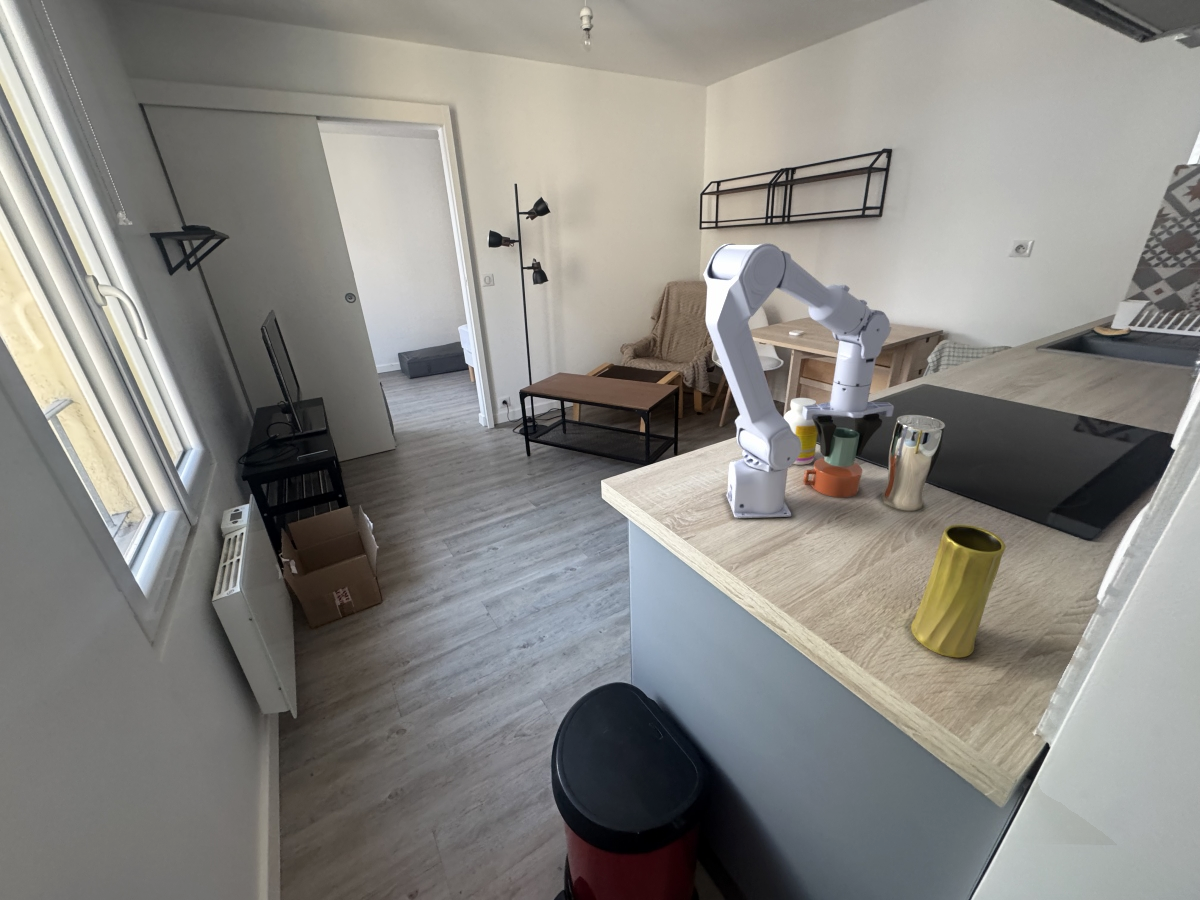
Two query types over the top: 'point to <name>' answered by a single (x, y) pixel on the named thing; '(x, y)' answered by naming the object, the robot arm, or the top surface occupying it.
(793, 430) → the supplement bottle
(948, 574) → the vase
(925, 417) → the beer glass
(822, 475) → the mug
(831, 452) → the green faceted cup
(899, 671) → the top surface
